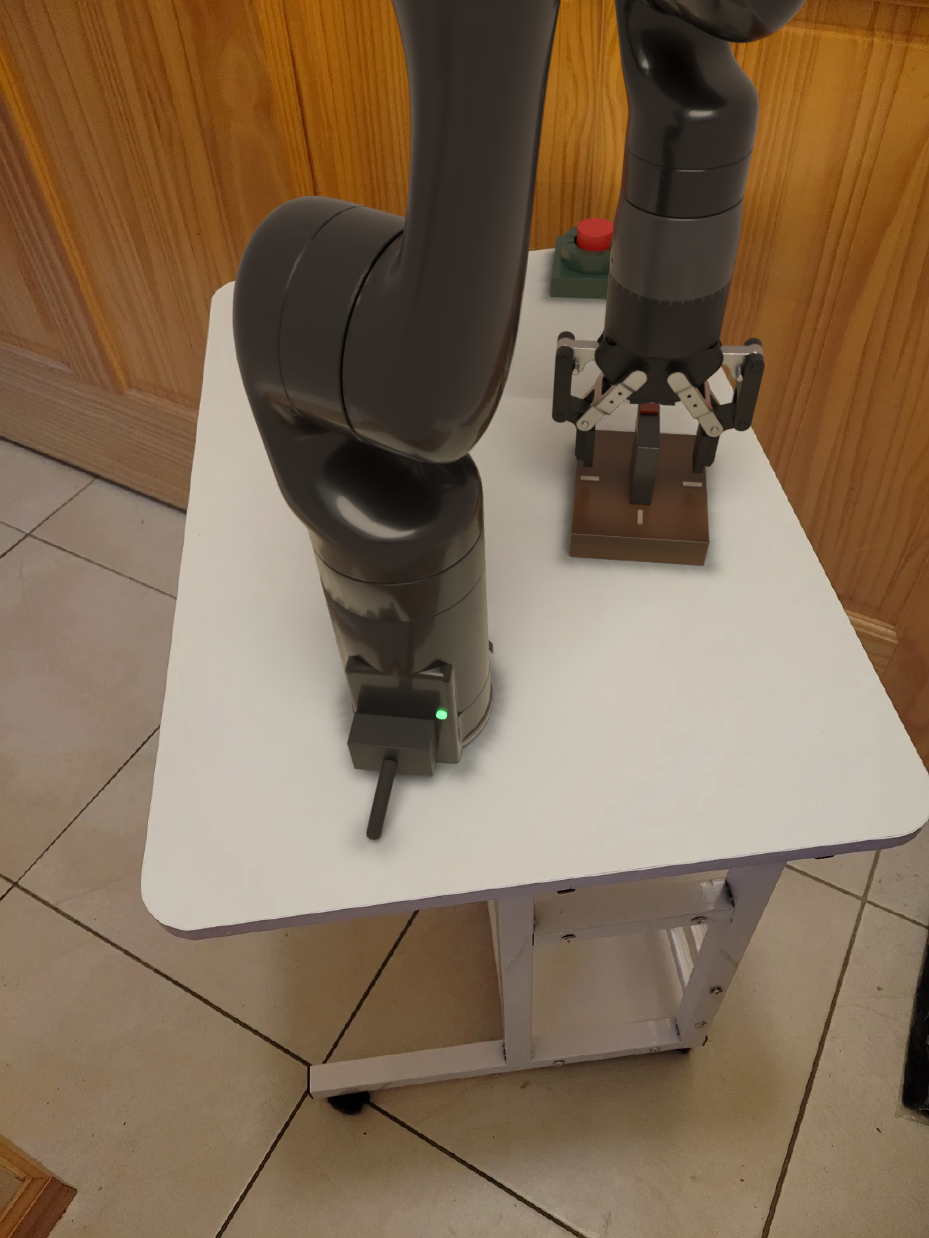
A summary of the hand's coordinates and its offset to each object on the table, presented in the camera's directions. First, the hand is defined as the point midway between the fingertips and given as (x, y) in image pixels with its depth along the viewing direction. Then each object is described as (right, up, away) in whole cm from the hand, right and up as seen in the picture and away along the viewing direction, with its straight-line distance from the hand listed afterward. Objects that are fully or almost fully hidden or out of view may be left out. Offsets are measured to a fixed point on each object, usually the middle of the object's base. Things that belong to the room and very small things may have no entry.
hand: (642, 462), depth 68 cm
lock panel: (0, -3, +3) cm, 4 cm away
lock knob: (0, -1, +1) cm, 2 cm away
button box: (0, +23, +24) cm, 33 cm away
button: (-1, +26, +21) cm, 33 cm away
